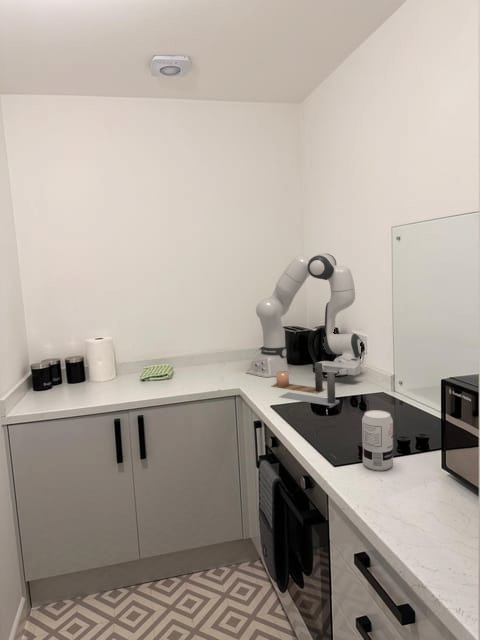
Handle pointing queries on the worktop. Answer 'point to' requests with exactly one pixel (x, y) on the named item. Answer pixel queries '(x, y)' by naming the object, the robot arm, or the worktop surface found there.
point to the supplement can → (377, 440)
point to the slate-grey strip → (318, 400)
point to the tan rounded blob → (282, 378)
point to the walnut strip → (305, 388)
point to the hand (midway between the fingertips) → (328, 371)
